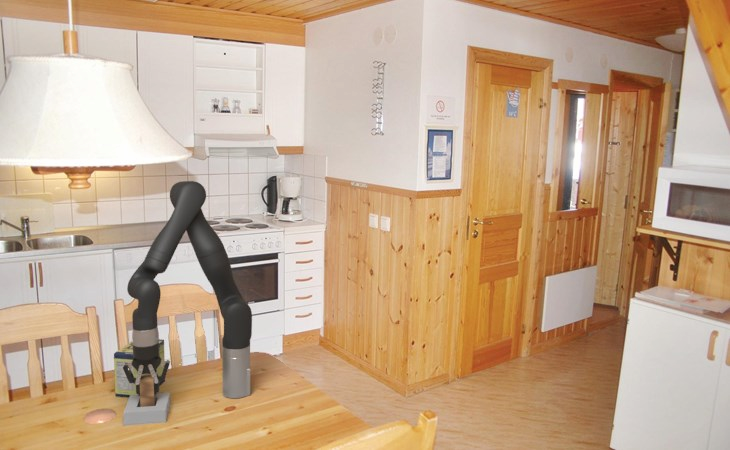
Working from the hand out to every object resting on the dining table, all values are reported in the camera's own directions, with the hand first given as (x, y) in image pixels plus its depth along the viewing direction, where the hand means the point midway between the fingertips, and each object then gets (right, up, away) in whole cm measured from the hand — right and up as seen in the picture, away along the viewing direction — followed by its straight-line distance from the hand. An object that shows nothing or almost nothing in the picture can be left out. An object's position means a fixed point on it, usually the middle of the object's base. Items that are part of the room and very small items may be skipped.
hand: (147, 393), depth 176 cm
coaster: (-14, -7, -1) cm, 16 cm away
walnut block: (0, -5, +1) cm, 5 cm away
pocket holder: (-1, -7, +1) cm, 7 cm away
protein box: (-10, -4, +19) cm, 22 cm away
